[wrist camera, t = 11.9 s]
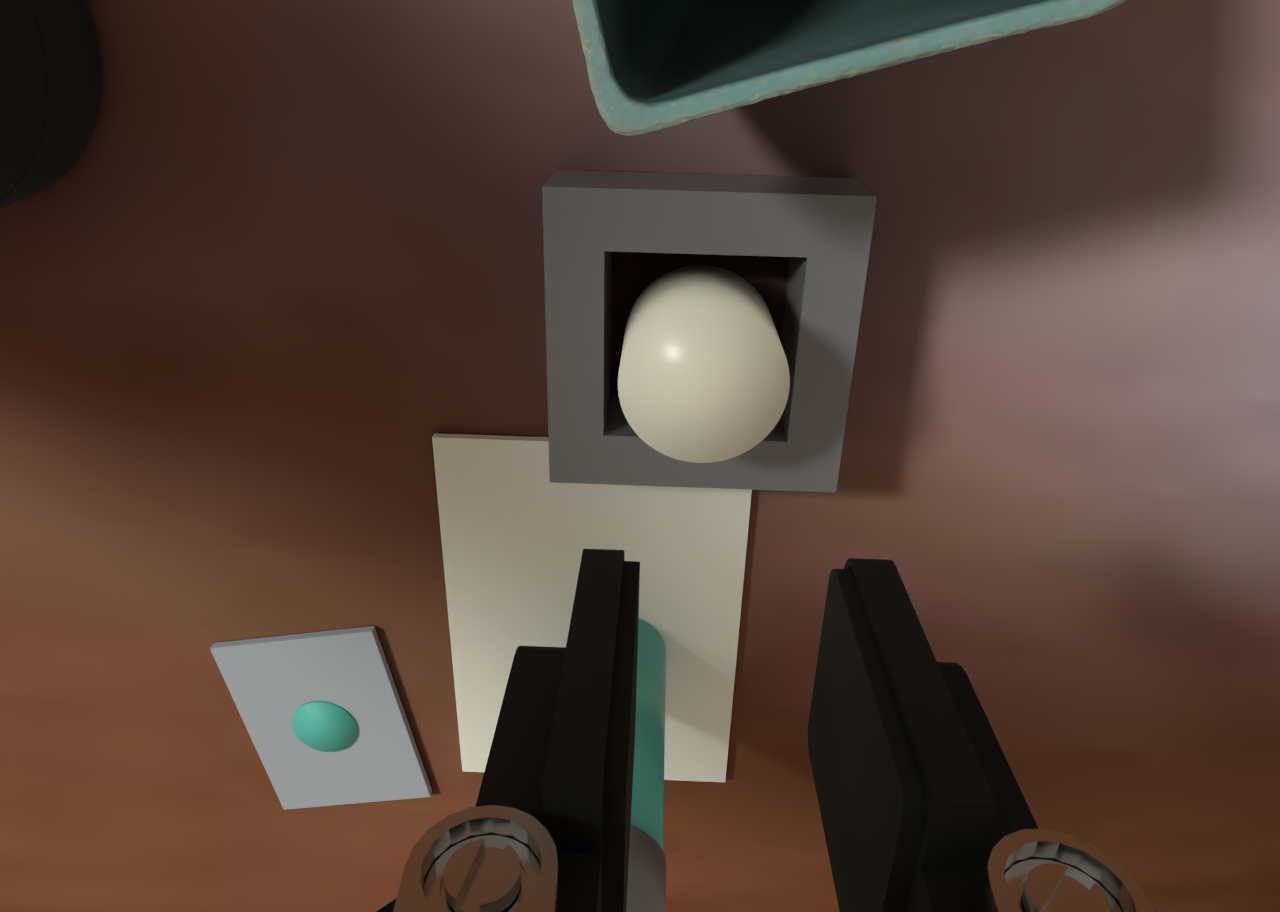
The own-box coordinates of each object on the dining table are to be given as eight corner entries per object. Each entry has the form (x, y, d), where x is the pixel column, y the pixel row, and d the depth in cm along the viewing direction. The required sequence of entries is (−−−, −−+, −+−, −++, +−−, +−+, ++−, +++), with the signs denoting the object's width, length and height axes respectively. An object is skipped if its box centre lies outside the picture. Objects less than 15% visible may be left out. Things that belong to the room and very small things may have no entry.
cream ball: (626, 262, 22) (618, 299, 19) (780, 267, 22) (798, 304, 19) (623, 404, 24) (616, 460, 21) (766, 409, 24) (780, 465, 21)
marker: (571, 610, 29) (523, 877, 20) (671, 615, 29) (668, 886, 20) (572, 687, 31) (527, 967, 22) (666, 691, 31) (661, 975, 22)
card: (213, 642, 31) (208, 650, 30) (374, 625, 30) (370, 632, 30) (286, 803, 34) (282, 811, 34) (432, 790, 34) (429, 798, 33)
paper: (434, 433, 27) (431, 437, 27) (754, 444, 27) (755, 448, 26) (463, 765, 33) (462, 771, 33) (724, 776, 33) (725, 782, 32)
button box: (556, 169, 23) (542, 186, 21) (853, 178, 23) (877, 196, 20) (562, 438, 27) (549, 482, 24) (819, 446, 27) (836, 492, 24)
